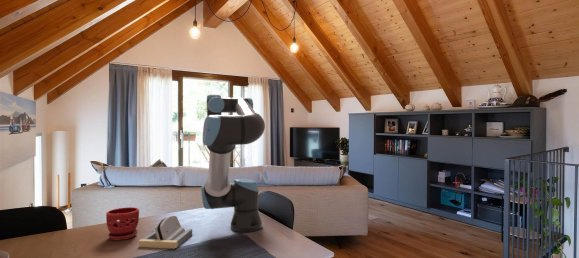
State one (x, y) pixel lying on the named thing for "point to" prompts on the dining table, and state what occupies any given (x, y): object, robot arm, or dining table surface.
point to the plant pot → (122, 223)
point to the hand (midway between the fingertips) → (214, 168)
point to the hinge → (169, 228)
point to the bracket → (150, 241)
